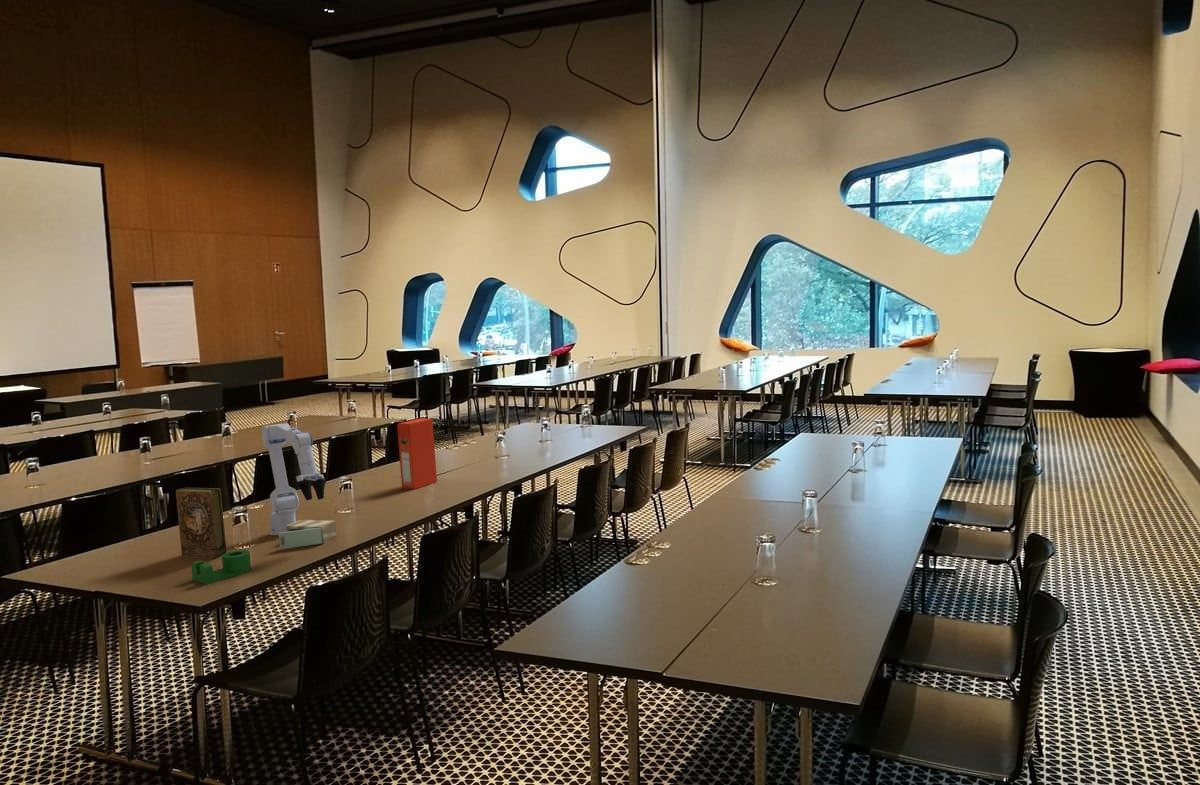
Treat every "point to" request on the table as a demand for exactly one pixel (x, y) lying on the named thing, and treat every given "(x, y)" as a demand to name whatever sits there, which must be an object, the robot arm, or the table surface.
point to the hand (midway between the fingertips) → (315, 499)
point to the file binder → (417, 453)
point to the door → (301, 538)
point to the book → (201, 522)
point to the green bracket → (231, 563)
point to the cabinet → (327, 527)
